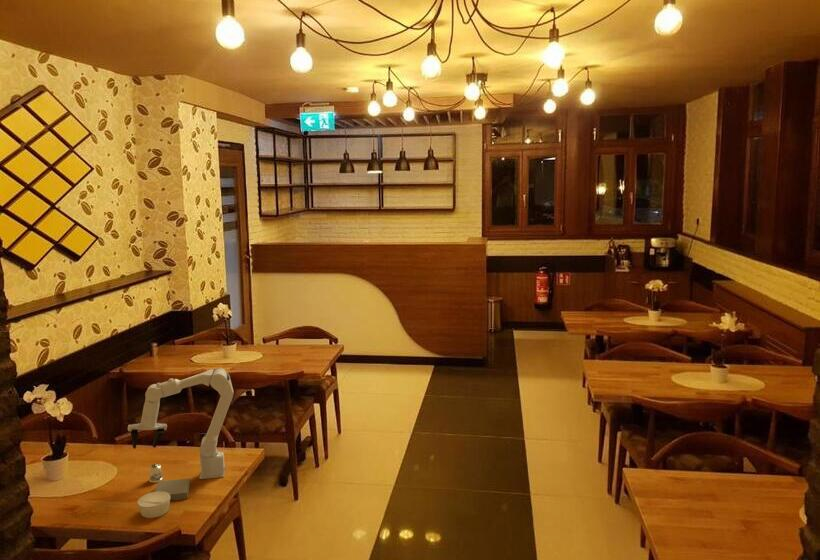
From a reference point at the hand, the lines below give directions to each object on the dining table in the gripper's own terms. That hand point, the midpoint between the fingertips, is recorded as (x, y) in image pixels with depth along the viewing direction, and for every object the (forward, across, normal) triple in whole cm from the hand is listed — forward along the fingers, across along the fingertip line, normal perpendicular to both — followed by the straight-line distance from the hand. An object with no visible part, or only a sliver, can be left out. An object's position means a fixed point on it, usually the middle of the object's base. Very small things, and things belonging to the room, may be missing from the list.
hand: (144, 447), depth 255 cm
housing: (+13, -6, +3) cm, 15 cm away
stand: (+11, -8, +18) cm, 23 cm away
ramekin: (+13, +1, +28) cm, 31 cm away
